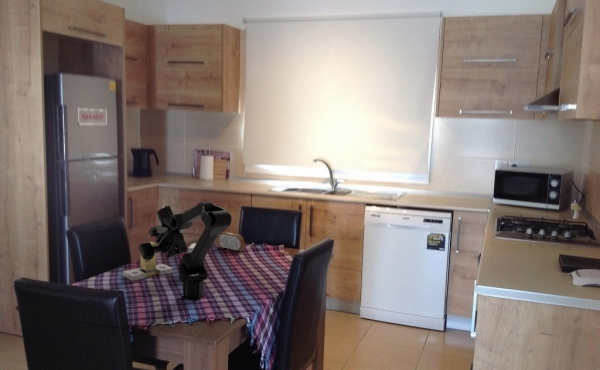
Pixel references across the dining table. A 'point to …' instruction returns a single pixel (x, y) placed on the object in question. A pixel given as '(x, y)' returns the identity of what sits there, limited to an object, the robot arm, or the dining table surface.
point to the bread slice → (231, 241)
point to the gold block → (149, 264)
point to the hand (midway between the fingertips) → (156, 259)
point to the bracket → (137, 274)
